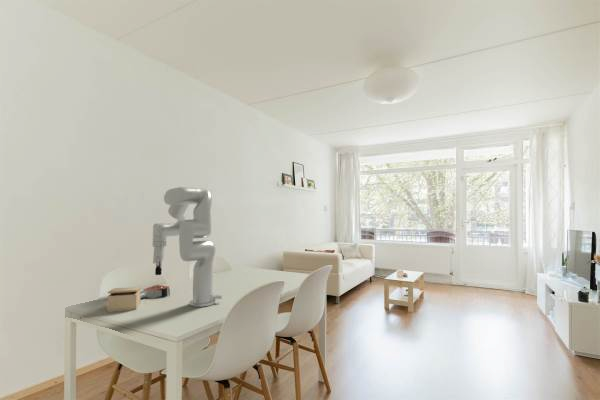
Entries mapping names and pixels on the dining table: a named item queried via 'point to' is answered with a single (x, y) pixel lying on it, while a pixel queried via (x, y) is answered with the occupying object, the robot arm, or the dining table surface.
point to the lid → (124, 290)
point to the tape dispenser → (155, 291)
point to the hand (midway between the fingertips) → (158, 274)
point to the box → (123, 301)
